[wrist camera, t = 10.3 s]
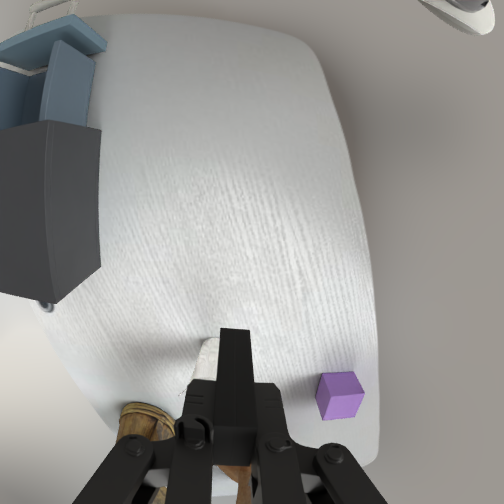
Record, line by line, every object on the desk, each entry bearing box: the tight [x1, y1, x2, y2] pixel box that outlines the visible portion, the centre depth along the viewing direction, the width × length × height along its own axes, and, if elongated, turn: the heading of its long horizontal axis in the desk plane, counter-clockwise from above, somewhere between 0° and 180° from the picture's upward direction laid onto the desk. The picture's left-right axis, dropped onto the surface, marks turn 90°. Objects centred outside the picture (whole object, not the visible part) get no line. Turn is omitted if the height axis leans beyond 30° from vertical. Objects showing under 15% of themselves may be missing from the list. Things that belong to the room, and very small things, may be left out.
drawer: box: [0, 0, 107, 130], centre depth 18 cm, size 19×11×8 cm, turn 175°
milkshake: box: [178, 338, 220, 396], centre depth 27 cm, size 5×5×10 cm
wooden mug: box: [116, 402, 175, 504], centre depth 27 cm, size 9×14×18 cm, turn 134°
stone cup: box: [217, 464, 251, 504], centre depth 31 cm, size 15×12×15 cm
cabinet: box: [0, 120, 102, 304], centre depth 22 cm, size 15×13×10 cm
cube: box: [315, 372, 365, 420], centre depth 32 cm, size 4×4×4 cm
